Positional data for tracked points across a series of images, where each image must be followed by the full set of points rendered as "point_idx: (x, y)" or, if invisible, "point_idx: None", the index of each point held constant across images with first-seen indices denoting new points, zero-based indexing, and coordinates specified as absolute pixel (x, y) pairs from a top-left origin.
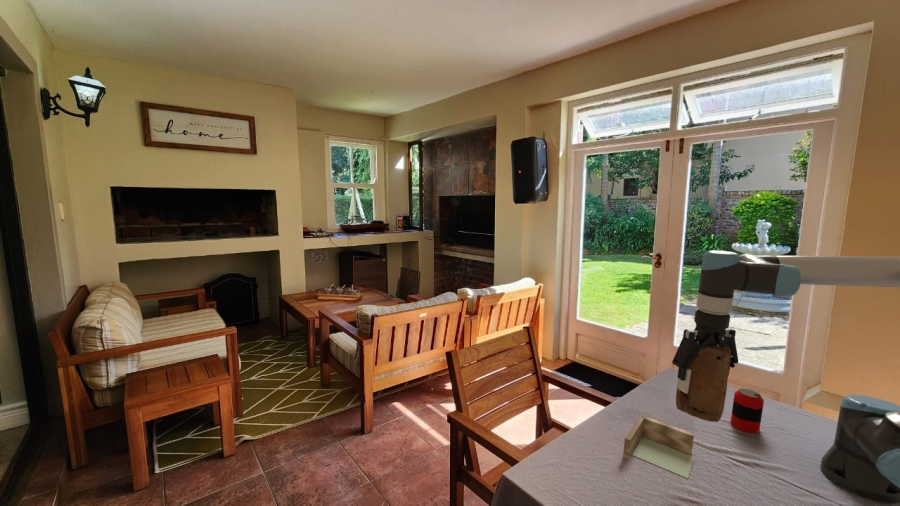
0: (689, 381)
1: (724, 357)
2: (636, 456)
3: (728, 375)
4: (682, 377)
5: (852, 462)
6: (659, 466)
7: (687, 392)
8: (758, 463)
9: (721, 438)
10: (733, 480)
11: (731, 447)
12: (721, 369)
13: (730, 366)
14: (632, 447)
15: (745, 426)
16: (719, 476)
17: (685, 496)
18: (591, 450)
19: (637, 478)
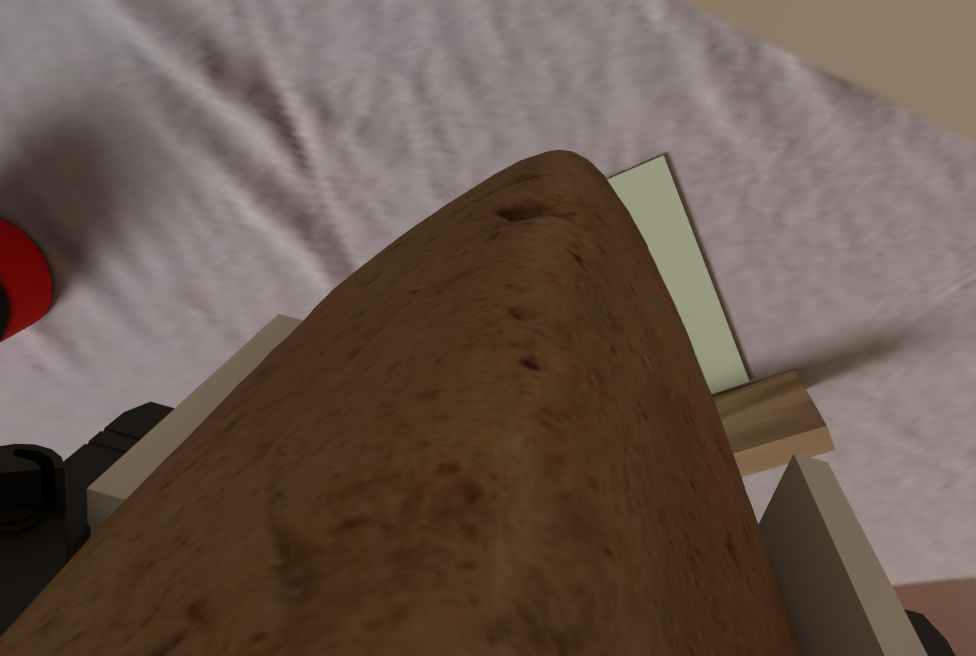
0: (839, 559)
1: None
2: (742, 364)
3: (132, 409)
4: (942, 654)
5: None
6: (707, 271)
7: (806, 461)
8: (199, 66)
9: (200, 266)
10: (452, 43)
11: (216, 203)
12: (610, 468)
13: (63, 483)
14: (741, 405)
15: (15, 254)
16: (491, 94)
17: (805, 77)
18: (895, 483)
19: (893, 265)
